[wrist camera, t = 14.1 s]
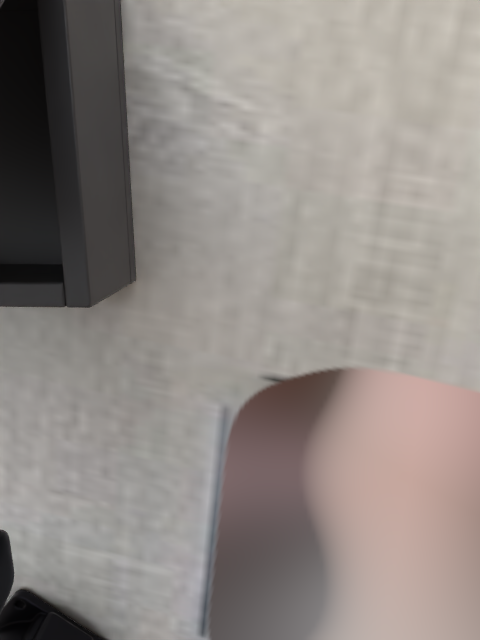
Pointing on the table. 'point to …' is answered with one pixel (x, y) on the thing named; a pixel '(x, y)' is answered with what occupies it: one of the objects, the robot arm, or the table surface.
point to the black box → (63, 154)
